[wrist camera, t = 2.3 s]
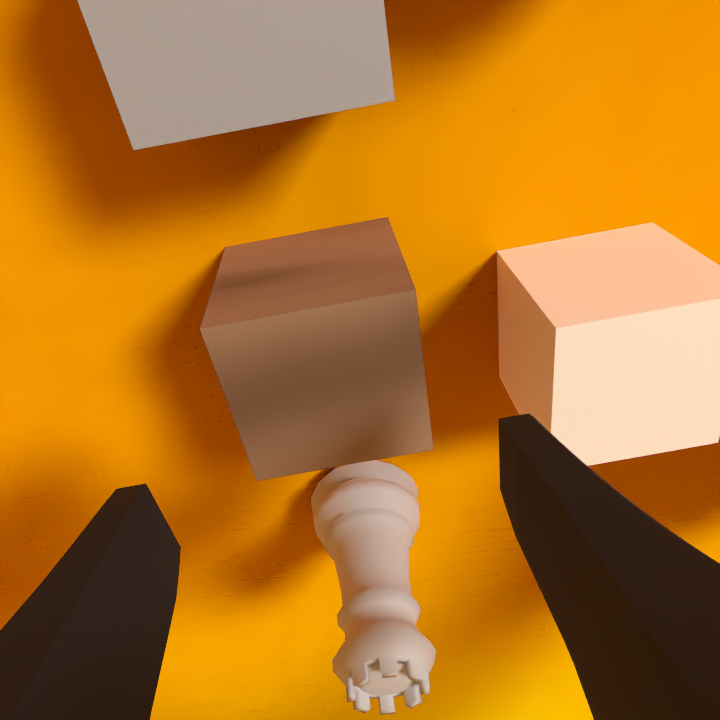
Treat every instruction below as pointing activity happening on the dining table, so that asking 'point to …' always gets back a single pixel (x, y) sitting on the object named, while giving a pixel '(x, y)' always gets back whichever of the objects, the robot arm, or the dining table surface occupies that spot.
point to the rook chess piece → (374, 582)
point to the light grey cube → (237, 62)
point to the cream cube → (613, 341)
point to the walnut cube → (319, 349)
